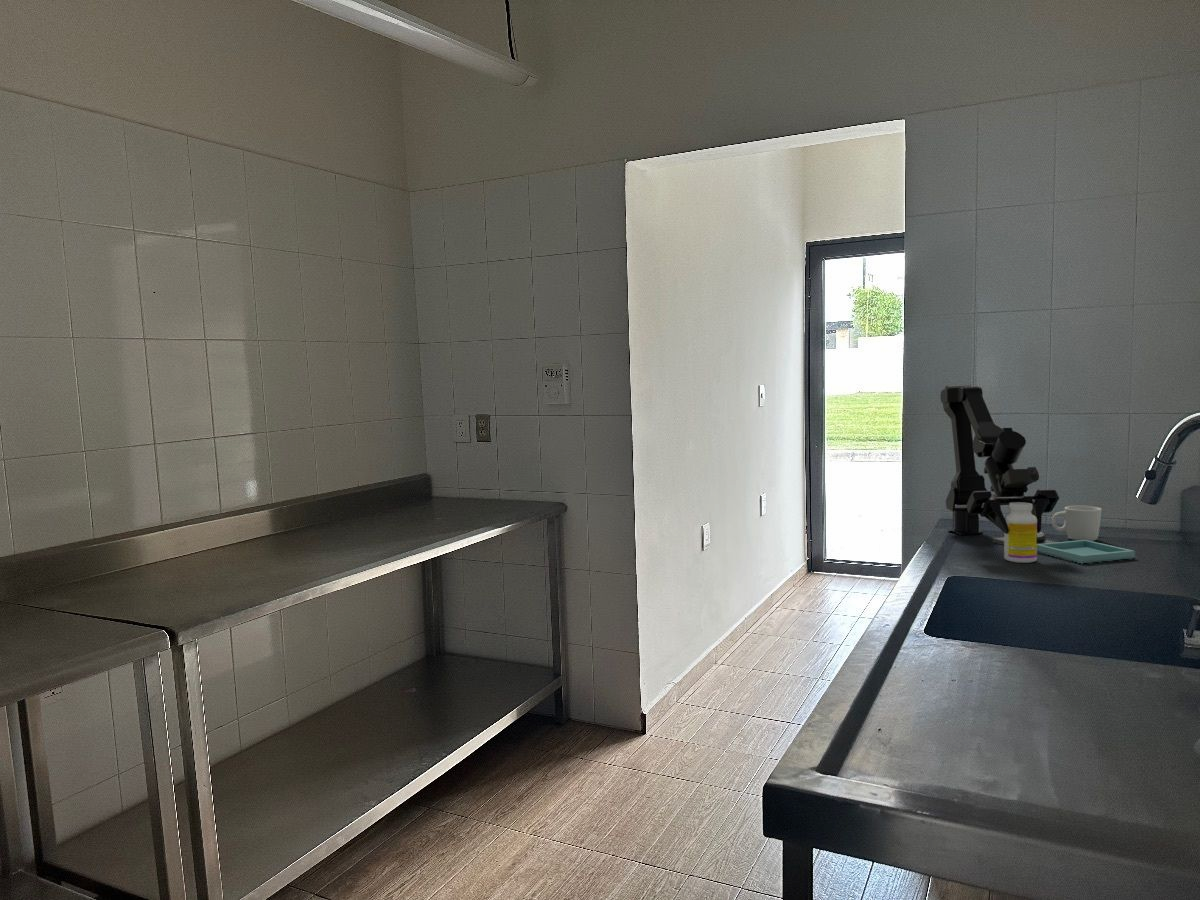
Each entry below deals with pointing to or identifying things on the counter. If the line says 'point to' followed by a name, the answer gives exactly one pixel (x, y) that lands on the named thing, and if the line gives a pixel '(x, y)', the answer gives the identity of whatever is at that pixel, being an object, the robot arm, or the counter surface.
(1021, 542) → the supplement bottle
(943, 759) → the counter surface
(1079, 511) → the cup
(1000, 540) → the block
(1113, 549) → the tray
